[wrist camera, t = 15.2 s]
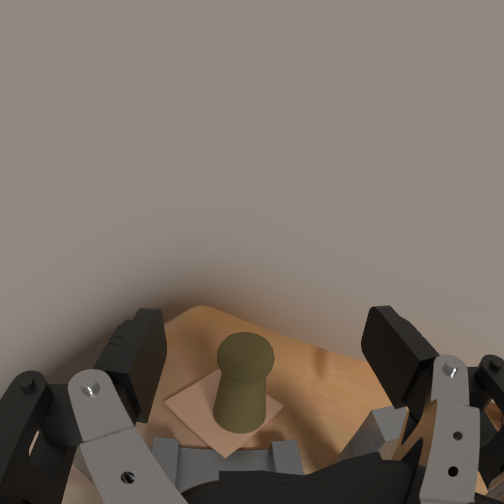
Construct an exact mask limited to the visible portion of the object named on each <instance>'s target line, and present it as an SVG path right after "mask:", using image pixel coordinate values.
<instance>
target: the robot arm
mask: <svg viewBox="0 0 504 504" xmlns="http://www.w3.org/2000/svg"><path fill="white" fill-rule="evenodd" d="M361 348H362V352H363V354H364V356H365V358H366V359H367V361H368V363H369V364H370V366H371V368H372V370H373V371H374V373H375V375H376V376H377V378H378V380H379V382H380V383H381V385H382V387H383V389H384V390H385V392H386V394H387V396H388V397H389V399H390V401H391V403H392V405H393V406H394V408H395V410H396V409H399V408H403V407H406V406H407V407H408V409H409V410H408V411H407V413H406V415H405V419H404V422H403V426H402V430H401V433H400V437H399V440H398V444H397V447H396V450H395V453H394V455H393V457H392V458H391V460H382V458H381V455H380V453H379V451H376V452H373V453H369V454H365V455H361V456H357V457H353V458H349V459H344V460H342V461H340V462H337V463H335V464H333V465H331V466H328V467H326V468H323V469H321V470H318V471H316V472H313V473H311V474H307V475H297V474H286V473H278V472H270V471H263V470H257V471H219V480H215V481H210V482H206V483H202V484H199V485H197V486H194V487H191V488H189V489H187V490H185V491H183V492H182V493H179V491H178V490H177V489H176V487H175V486H174V485H173V484H172V482H171V481H170V479H169V478H168V477H167V475H166V474H165V472H164V471H163V470H162V468H161V467H160V465H159V464H158V462H157V461H156V459H155V458H154V456H153V455H152V453H151V452H150V450H149V448H148V447H147V445H146V443H145V442H144V440H143V439H142V437H141V435H140V433H139V432H138V430H137V428H136V427H135V424H136V422H141V423H147V422H148V418H149V414H150V411H151V407H152V404H153V400H154V397H155V393H156V390H157V386H158V383H159V379H160V376H161V373H162V369H163V366H164V363H165V360H166V355H167V342H166V336H165V330H164V324H163V317H162V312H161V310H160V309H155V308H140V309H139V310H138V312H137V314H136V316H135V317H134V319H133V320H126V321H125V322H124V323H122V324H121V325H119V326H118V327H117V329H116V330H115V332H114V334H113V335H112V337H111V338H110V340H109V342H108V344H107V345H106V347H105V348H104V350H103V352H102V353H101V355H100V357H99V358H98V360H97V362H96V364H95V365H94V367H93V369H89V370H84V371H81V372H79V373H77V374H76V375H75V376H74V377H72V379H71V380H70V382H69V384H48V383H47V381H46V379H45V377H44V376H43V375H42V374H41V373H40V372H37V371H26V372H23V373H21V374H19V375H18V376H17V377H16V378H15V379H14V380H13V381H12V383H11V384H10V386H9V387H8V389H7V390H6V392H5V394H4V395H3V397H2V398H1V400H0V504H61V503H62V499H63V495H64V491H65V487H66V484H67V480H68V476H69V473H70V469H71V466H72V463H73V459H74V456H75V453H76V450H77V447H78V446H80V448H81V451H82V454H83V457H84V459H85V462H86V465H87V467H88V469H89V472H90V474H91V476H92V479H93V481H94V483H95V485H96V488H97V490H98V492H99V494H100V496H101V498H102V500H103V502H104V504H504V361H503V359H501V358H500V357H498V356H495V355H485V356H484V357H483V358H482V360H481V362H480V364H479V366H478V367H466V365H465V364H464V363H463V362H462V361H461V360H460V359H458V358H457V357H454V356H451V355H441V356H440V355H439V354H438V353H437V352H436V350H435V349H434V348H433V347H432V346H431V345H430V343H429V342H428V341H427V340H426V339H425V338H424V337H422V335H421V334H420V332H419V331H417V329H416V328H415V327H414V326H413V325H412V324H411V323H410V322H409V321H407V320H406V319H404V318H402V317H400V316H399V315H398V314H397V313H396V312H395V311H394V309H393V308H392V307H391V306H388V305H387V306H376V307H371V308H370V310H369V313H368V317H367V321H366V325H365V329H364V332H363V336H362V340H361ZM492 399H493V400H494V402H495V403H496V404H497V406H498V407H499V409H500V410H501V412H502V413H503V419H502V428H501V429H500V430H499V431H498V432H497V430H496V428H495V427H494V425H493V424H492V422H491V421H490V419H489V418H488V416H487V415H486V413H485V412H484V410H485V409H486V407H487V406H488V404H489V403H490V401H491V400H492ZM37 430H38V432H39V435H38V437H37V439H36V442H35V444H34V446H33V449H32V451H31V454H30V456H29V448H30V446H31V443H32V441H33V439H34V436H35V434H36V432H37ZM478 471H479V473H480V475H481V477H482V479H483V481H484V483H485V485H486V487H487V490H488V493H487V494H486V495H485V496H484V495H481V494H479V493H476V492H475V488H476V481H477V473H478Z"/></svg>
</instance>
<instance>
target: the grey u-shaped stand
mask: <svg viewBox="0 0 504 504" xmlns="http://www.w3.org/2000/svg"><path fill="white" fill-rule="evenodd" d="M406 413H407V409H406V407H403V408H399V409H396V410H395V408H394V406H389V407H385V408H380V409H376V410H371V412H370V413H369V415H368V416H367V418H366V419H365V421H364V422H363V424H362V425H361V426H360V428H359V429H358V431H357V432H356V433H355V435H354V436H353V437H352V439H351V440H350V441H349V443H348V444H347V445H346V447H345V448H344V449H343V450H342V452H341V453H340V454H339V455H338V457H337V458H336V459H335V460H334V461H333V463H332V464H331V465H333V464H335V463H337V462H340V461H342V460H344V459H349V458H353V457H357V456H361V455H365V454H369V453H373V452H376V451H379V453H380V455H381V458H382V460H390V459H391V458H392V457H393V455H394V453H395V450H396V447H397V444H398V440H399V437H400V433H401V430H402V426H403V422H404V419H405V415H406ZM151 453H152V455H153V456H154V458H155V459H156V461H157V462H158V464H159V465H160V467H161V468H162V470H163V471H164V472H165V474H166V475H167V477H168V478H169V479H170V481H171V482H172V484H173V485H174V486H175V487H176V489H177V490H178V491H179V493H182V492H183V491H185V490H187V489H189V488H191V487H194V486H197V485H199V484H202V483H206V482H210V481H215V480H219V471H257V470H263V471H270V472H278V473H286V474H297V475H304V472H303V467H302V463H301V458H300V454H299V449H298V445H297V440H285V441H272V442H271V445H270V448H269V449H268V450H235V451H234V452H233V453H231V454H230V455H229V456H228V457H226V458H224V457H223V456H222V455H220V454H219V453H218V452H217V451H216V450H207V449H192V448H181V446H180V442H179V439H172V438H164V437H157V436H154V439H153V445H152V451H151ZM73 464H74V465H75V466H76V467H77V468H78V469H79V470H80V471H81V472H82V473H83V474H84V475H85V476H86V477H87V478H88V479H90V480H91V481H92V482H93V483H94V481H93V479H92V476H91V474H90V472H89V469H88V467H87V465H86V462H85V459H84V457H83V454H82V451H81V448H80V446H78V447H77V450H76V453H75V456H74V459H73ZM331 465H330V466H331ZM94 484H95V483H94Z"/></svg>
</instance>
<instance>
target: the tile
mask: <svg viewBox="0 0 504 504" xmlns="http://www.w3.org/2000/svg"><path fill="white" fill-rule="evenodd" d="M221 373H222V372H221V371H220V368H219V369H217V370H215V371H214V372H212V373H211V374H209V375H208V376H206V377H204V378H203V379H201V380H200V381H198V382H196V383H195V384H193V385H191V386H190V387H188V388H186V389H185V390H183V391H181V392H180V393H178V394H176V395H175V396H173V397H171V398H169V399H168V400H166V401H164V405H165V406H166V407H167V408H168V409H169V410H170V411H171V412H172V413H173V414H174V415H175V416H176V417H177V418H178V419H179V420H180V421H181V422H182V423H183V424H184V425H185V426H186V427H187V428H188V429H189V430H191V431H192V432H193V433H194V434H195V435H196V436H197V437H198V438H199V439H201V440H202V441H203V442H204V443H205V444H206V445H207V446H209V447H210V448H211V449H212V450H216V451H217V452H218V453H219V454H220V455H222V456H223V457H224V458H226V457H228V456H229V455H230V454H231V453H233V452H234V451H235V450H238V449H239V448H241V447H242V446H243V445H244V444H245V443H247V442H248V441H249V440H250V439H251V438H252V437H253V436H255V435H256V434H257V433H258V432H259V431H260V430H261V429H262V428H264V427H265V426H266V425H267V424H268V423H269V422H270V421H271V420H272V419H273V418H274V417H275V416H276V415H277V414H278V413H280V412H281V411H282V410H283V409H284V405H282V404H281V403H279V402H278V401H276V400H274V399H273V398H271V397H270V396H268V395H267V394H266V418H265V421H264V423H263V424H262V425H261V426H260V428H258V429H256V430H255V431H253V432H249V433H245V434H239V433H232V432H229V431H226V430H225V429H223V428H222V427H220V426H219V425H218V424H217V422H216V421H215V419H214V416H213V407H214V403H215V399H216V394H217V390H218V386H219V381H220V377H221Z"/></svg>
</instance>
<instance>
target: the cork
mask: <svg viewBox="0 0 504 504" xmlns="http://www.w3.org/2000/svg"><path fill="white" fill-rule="evenodd" d="M217 363H218V366H219V368H220V371H221V372H222V373H221V377H220V381H219V386H218V390H217V394H216V399H215V403H214V407H213V416H214V419H215V421H216V422H217V424H218V425H219V426H220V427H222V428H223V429H225V430H226V431H229V432H232V433H239V434H245V433H249V432H253V431H255V430H256V429H258V428H260V426H261V425H262V424H263V423H264V421H265V418H266V376H267V375H268V374H269V373H270V371H271V370H272V367H273V364H274V352H273V348H272V347H271V345H270V344H269V342H268V341H267V340H266V339H265V338H263V337H262V336H259V335H257V334H254V333H248V332H241V333H235V334H232V335H230V336H228V337H227V338H226V339H225V340H224V341H223V342H222V343H221V345H220V346H219V348H218V351H217Z"/></svg>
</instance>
